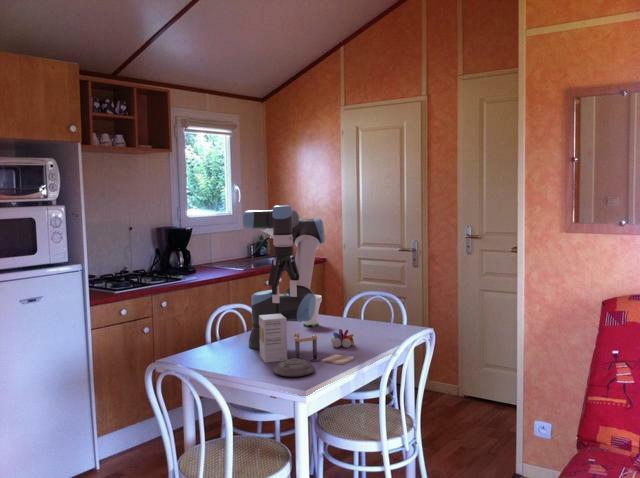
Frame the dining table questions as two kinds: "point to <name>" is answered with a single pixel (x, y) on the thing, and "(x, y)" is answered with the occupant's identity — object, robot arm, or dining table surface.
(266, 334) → the supplement box
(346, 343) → the rainbow disc toy
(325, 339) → the dining table surface
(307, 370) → the flying saucer
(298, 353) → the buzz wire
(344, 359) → the coaster
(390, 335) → the dining table surface
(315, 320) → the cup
